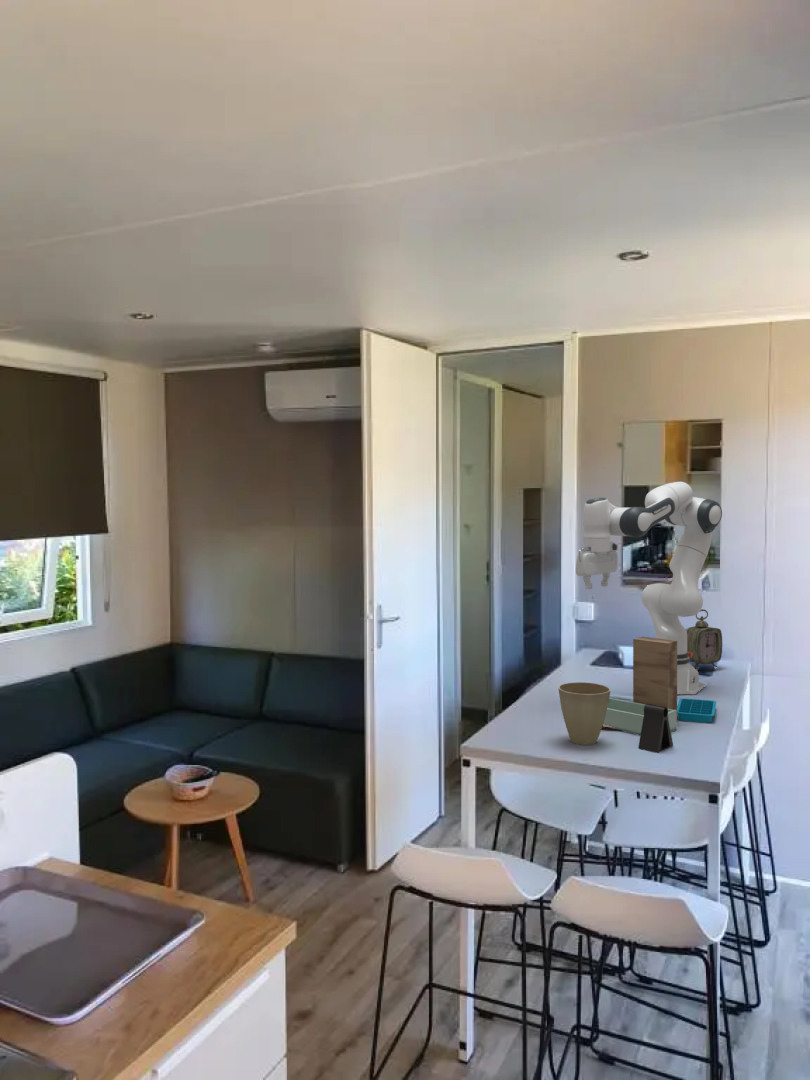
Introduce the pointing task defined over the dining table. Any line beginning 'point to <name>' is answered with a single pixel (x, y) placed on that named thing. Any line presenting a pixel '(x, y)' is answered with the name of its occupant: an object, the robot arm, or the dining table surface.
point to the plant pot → (584, 710)
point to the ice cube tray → (696, 710)
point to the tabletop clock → (704, 642)
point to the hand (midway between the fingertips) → (596, 587)
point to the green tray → (631, 716)
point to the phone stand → (655, 729)
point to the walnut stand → (655, 672)
